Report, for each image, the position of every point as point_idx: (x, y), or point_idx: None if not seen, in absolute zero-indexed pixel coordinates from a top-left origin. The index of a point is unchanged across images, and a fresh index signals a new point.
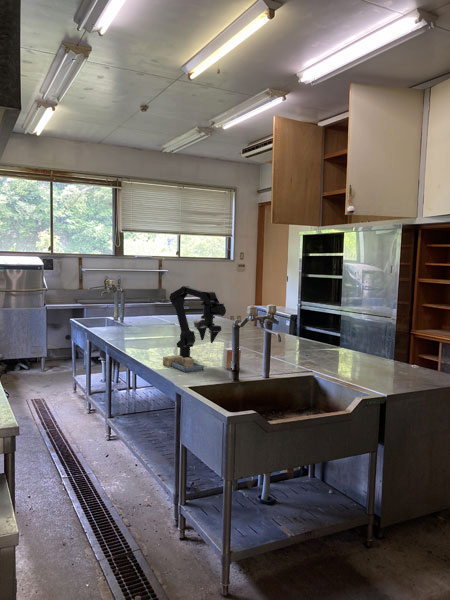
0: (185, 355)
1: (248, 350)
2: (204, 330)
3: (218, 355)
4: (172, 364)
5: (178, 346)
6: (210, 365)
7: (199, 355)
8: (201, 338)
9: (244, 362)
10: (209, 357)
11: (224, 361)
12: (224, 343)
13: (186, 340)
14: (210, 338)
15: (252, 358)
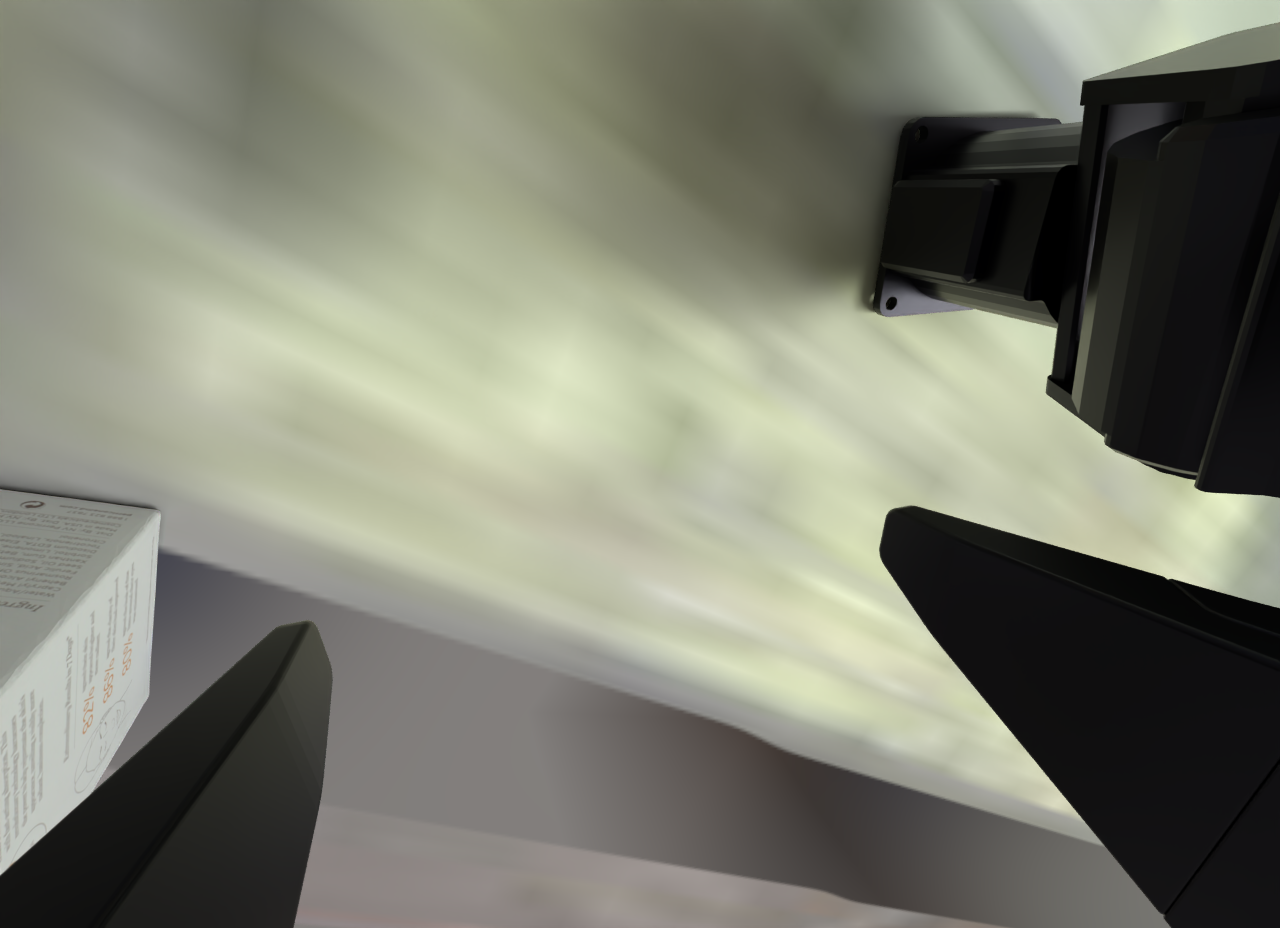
0: (932, 179)
1: (832, 920)
2: (1246, 920)
3: (816, 676)
4: None
5: (1226, 36)
6: (303, 337)
7: (926, 487)
8: (937, 530)
9: (402, 823)
10: (789, 555)
11: (3, 557)
12: (1084, 823)
13: (1261, 114)
14: (203, 773)
15: (563, 911)
